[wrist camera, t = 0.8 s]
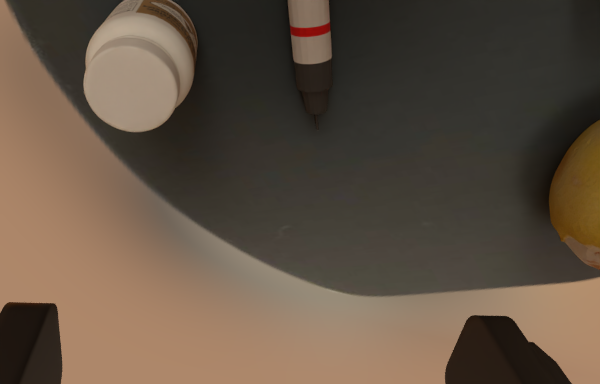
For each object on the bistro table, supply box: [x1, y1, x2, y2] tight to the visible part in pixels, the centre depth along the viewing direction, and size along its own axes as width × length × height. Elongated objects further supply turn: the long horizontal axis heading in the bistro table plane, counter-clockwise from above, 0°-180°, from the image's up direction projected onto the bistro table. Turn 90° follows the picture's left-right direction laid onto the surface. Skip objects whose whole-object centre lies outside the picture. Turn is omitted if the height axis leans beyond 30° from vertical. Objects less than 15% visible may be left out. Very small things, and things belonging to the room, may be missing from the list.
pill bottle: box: [84, 0, 198, 132], centre depth 22 cm, size 4×4×8 cm
